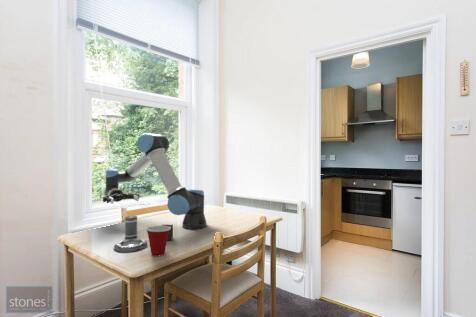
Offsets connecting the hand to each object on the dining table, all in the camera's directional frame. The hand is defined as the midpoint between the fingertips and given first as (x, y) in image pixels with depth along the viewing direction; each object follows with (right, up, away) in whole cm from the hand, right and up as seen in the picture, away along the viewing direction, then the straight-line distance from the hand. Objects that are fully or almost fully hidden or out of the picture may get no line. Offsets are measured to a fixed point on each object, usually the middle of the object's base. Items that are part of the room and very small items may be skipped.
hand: (125, 199), depth 147 cm
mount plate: (+12, -19, -21) cm, 31 cm away
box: (+26, -20, -11) cm, 34 cm away
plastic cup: (+28, -20, -30) cm, 45 cm away
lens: (+6, -19, -7) cm, 21 cm away
